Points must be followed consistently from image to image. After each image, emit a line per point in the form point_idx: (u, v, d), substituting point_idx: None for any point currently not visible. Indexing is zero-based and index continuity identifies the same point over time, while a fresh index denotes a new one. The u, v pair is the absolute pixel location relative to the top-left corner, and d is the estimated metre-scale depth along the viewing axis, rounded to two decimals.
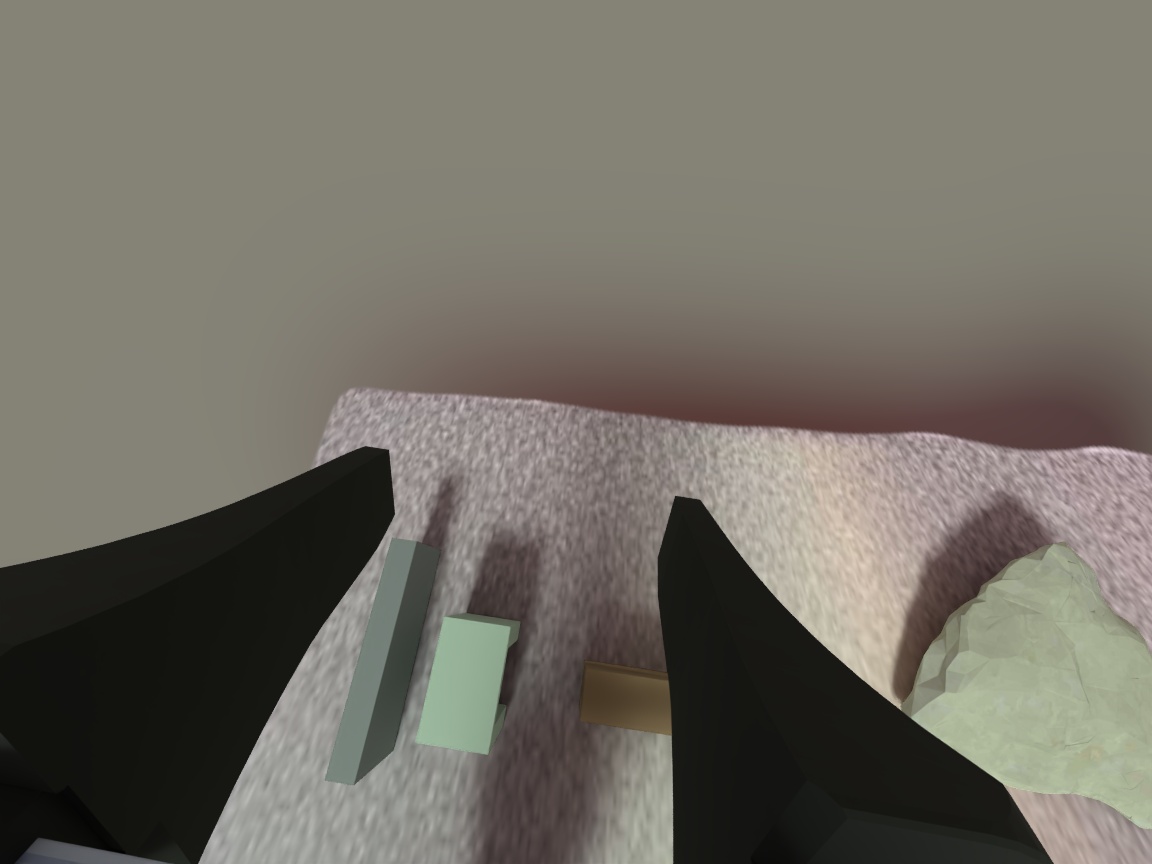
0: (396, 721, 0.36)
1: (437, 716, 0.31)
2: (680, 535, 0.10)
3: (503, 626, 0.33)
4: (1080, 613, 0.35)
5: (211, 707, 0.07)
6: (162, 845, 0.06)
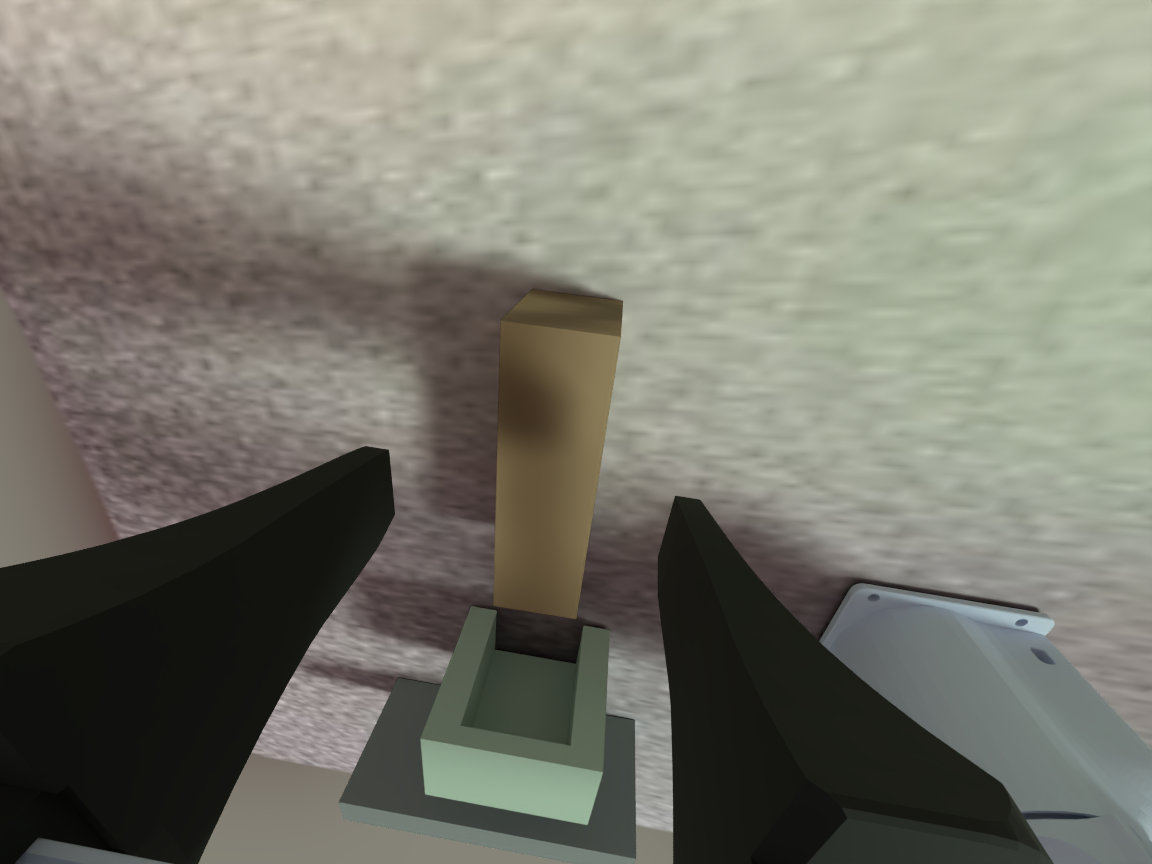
0: None
1: (554, 807, 0.21)
2: (680, 535, 0.10)
3: (422, 744, 0.20)
4: None
5: (211, 707, 0.07)
6: (162, 844, 0.06)
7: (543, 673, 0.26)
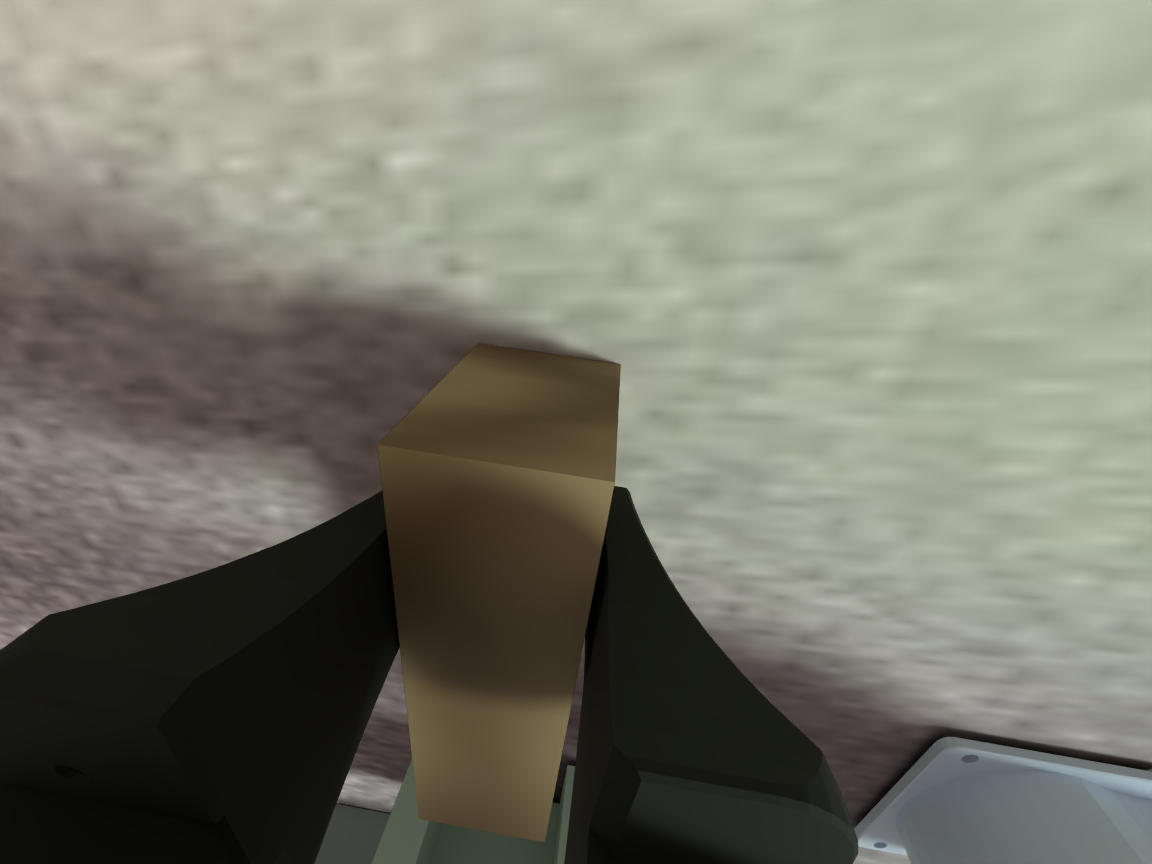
0: None
1: None
2: None
3: None
4: None
5: (324, 728, 0.07)
6: None
7: None
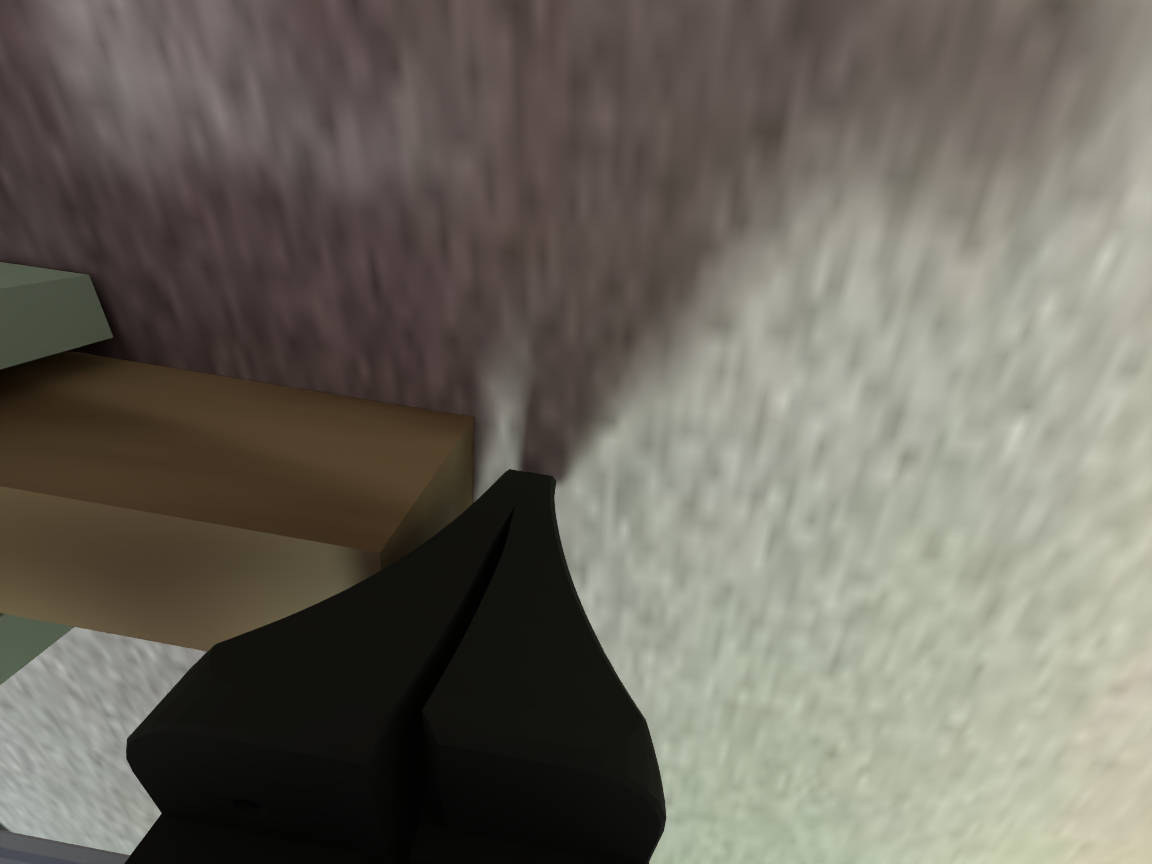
0: None
1: None
2: None
3: None
4: None
5: None
6: None
7: None
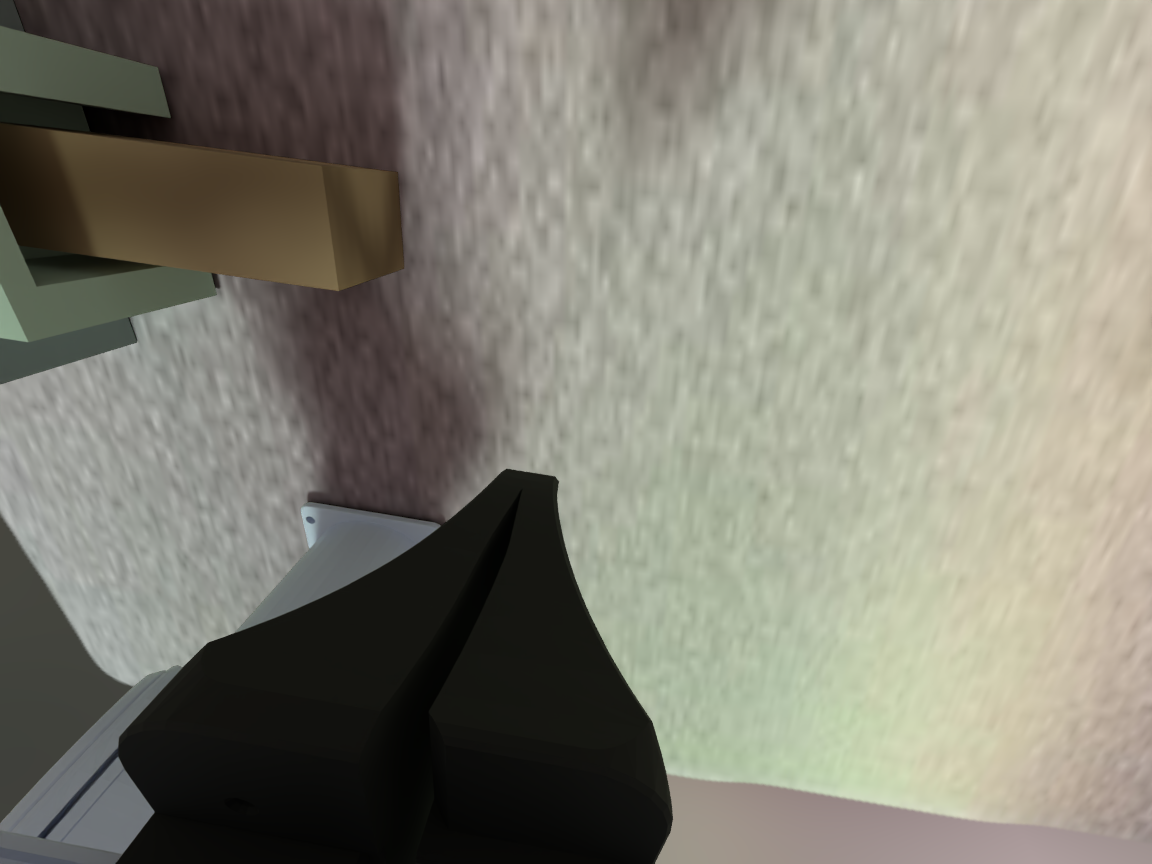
0: None
1: None
2: None
3: None
4: None
5: None
6: None
7: None
